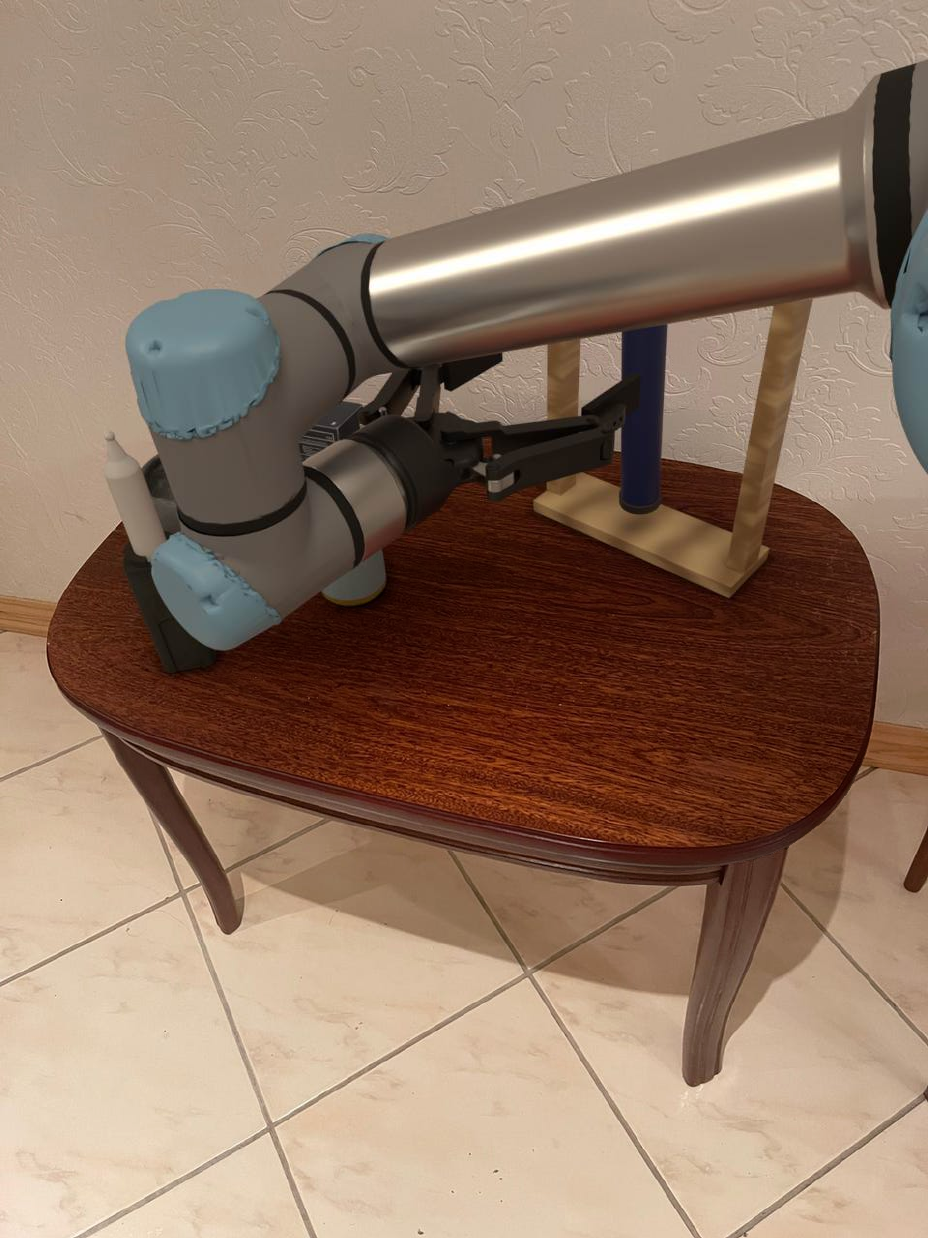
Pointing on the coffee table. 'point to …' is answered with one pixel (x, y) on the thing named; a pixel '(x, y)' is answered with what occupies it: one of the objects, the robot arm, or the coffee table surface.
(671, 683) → the coffee table surface
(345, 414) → the small box
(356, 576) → the bottle
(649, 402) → the umbrella
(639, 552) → the rack
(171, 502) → the bowl
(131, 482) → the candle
